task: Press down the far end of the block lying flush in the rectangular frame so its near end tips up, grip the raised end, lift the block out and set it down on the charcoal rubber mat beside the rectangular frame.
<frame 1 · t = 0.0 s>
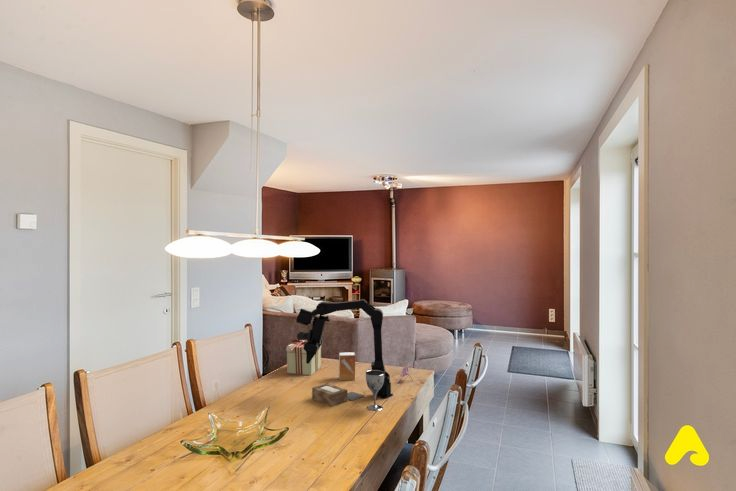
hand: (309, 360, 197), 15 cm above the table, tool pointing down, fingers open, 9 cm apart
mat: (352, 396, 194), on the table
small box: (346, 379, 220), on the table
gift box: (304, 371, 233), on the table
block: (330, 393, 189), point 3 cm above the table, touching rectangular frame
lily: (404, 381, 217), on the table
rectangular frame: (330, 400, 189), on the table
wine glass: (374, 408, 181), on the table
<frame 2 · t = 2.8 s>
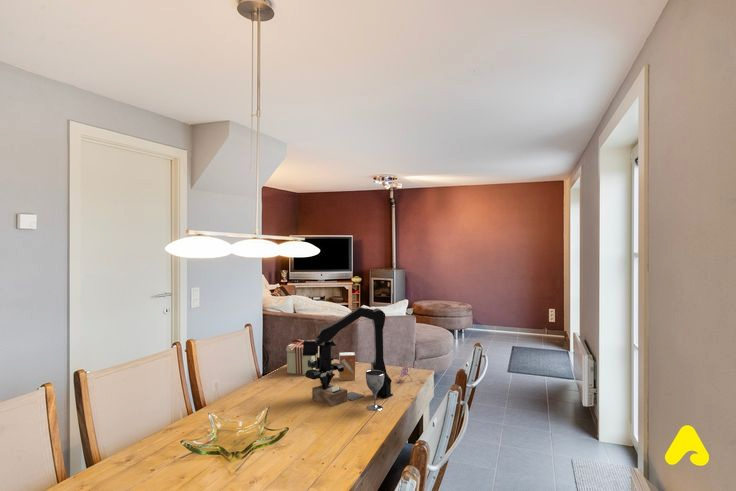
hand: (324, 389, 192), 4 cm above the table, tool pointing down, fingers closed, pressing on block
block: (330, 393, 189), point 3 cm above the table, tilted 27°, touching rectangular frame, gripper
everything else where it was.
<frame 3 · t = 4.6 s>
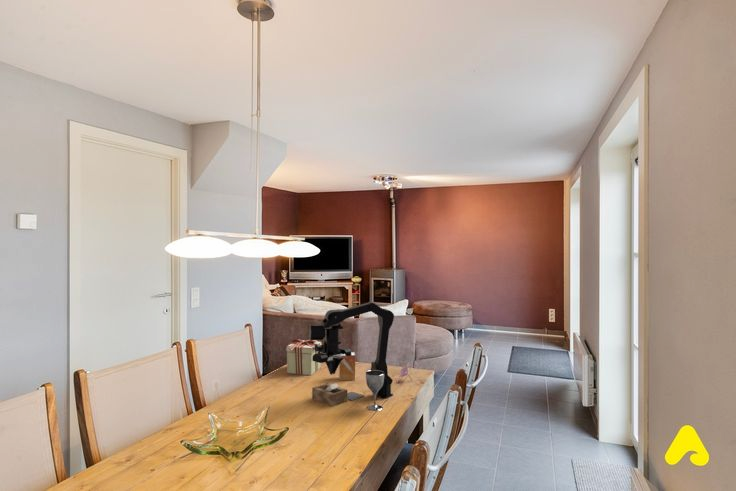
hand: (332, 374, 188), 12 cm above the table, tool pointing down, fingers closed
block: (329, 392, 189), point 3 cm above the table, tilted 40°, touching rectangular frame
everything else where it was.
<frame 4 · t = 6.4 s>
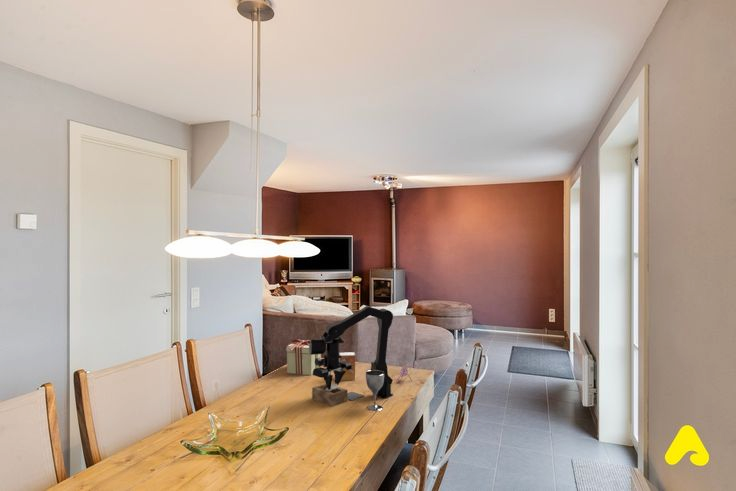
hand: (332, 388, 188), 6 cm above the table, tool pointing down, fingers closed on block, 4 cm apart
block: (329, 392, 189), point 3 cm above the table, tilted 40°, touching rectangular frame, gripper
everything else where it was.
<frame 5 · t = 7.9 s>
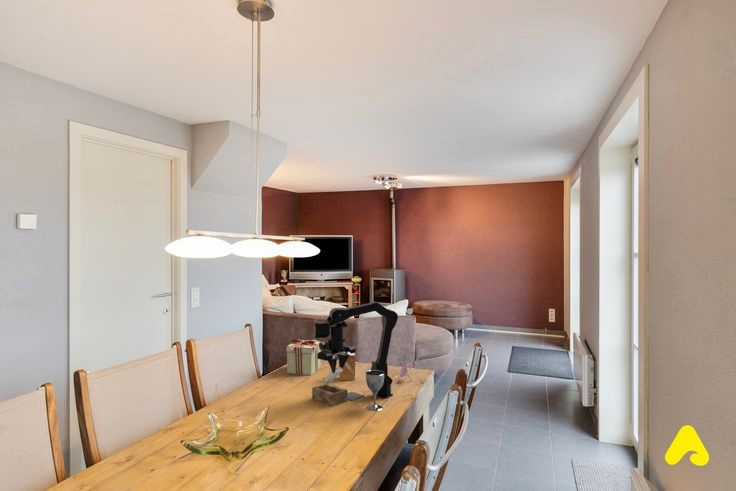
hand: (337, 371, 189), 13 cm above the table, tool pointing down, fingers closed on block, 4 cm apart
block: (334, 376, 191), point 10 cm above the table, tilted 41°, touching gripper
everything else where it was.
when the fingers open (9 cm above the table, at t = 9.3 s): block drops 7 cm, resting on mat.
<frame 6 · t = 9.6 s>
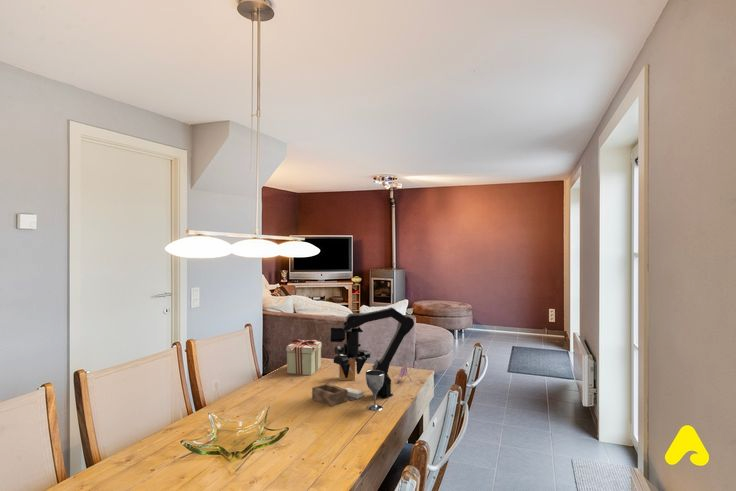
hand: (352, 375, 194), 9 cm above the table, tool pointing down, fingers open, 7 cm apart
block: (352, 395, 195), resting on mat
everything else where it was.
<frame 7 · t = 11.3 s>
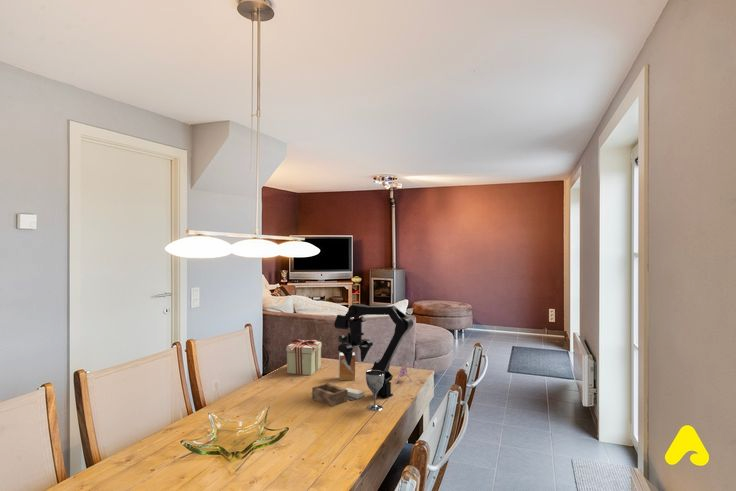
hand: (355, 363, 202), 13 cm above the table, tool pointing down, fingers open, 9 cm apart
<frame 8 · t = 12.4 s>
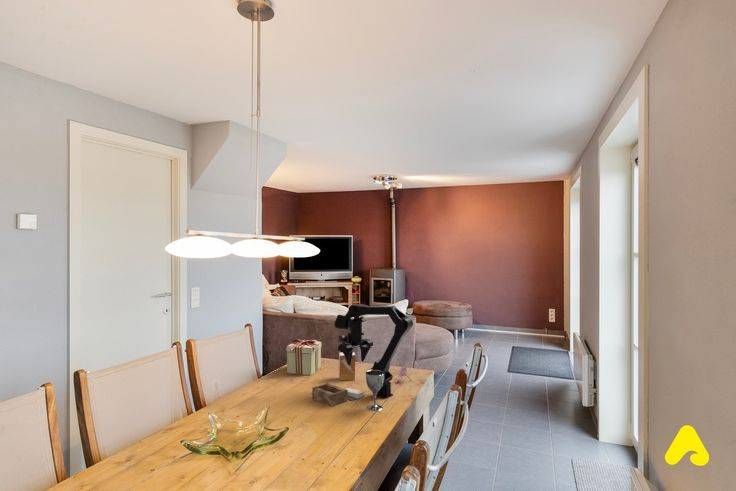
hand: (355, 363, 202), 13 cm above the table, tool pointing down, fingers open, 9 cm apart
at the end: block 0.6 cm from the mat (horizontally); block resting on mat; block touching mat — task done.
